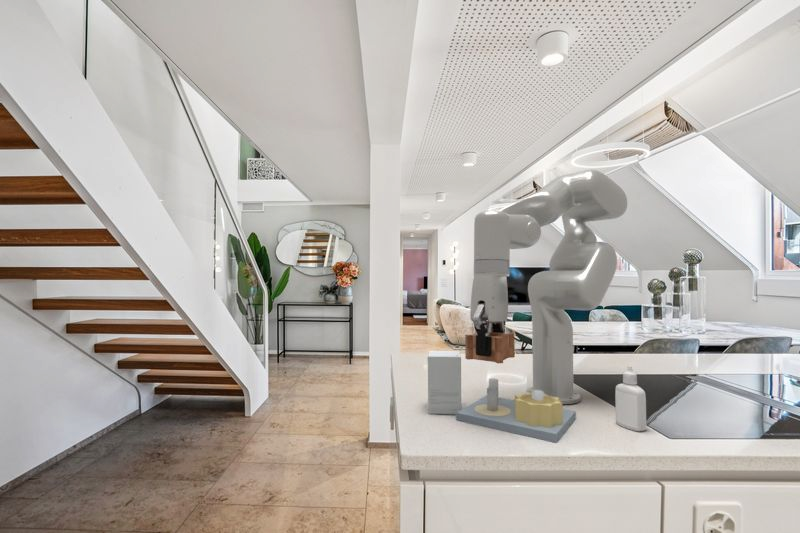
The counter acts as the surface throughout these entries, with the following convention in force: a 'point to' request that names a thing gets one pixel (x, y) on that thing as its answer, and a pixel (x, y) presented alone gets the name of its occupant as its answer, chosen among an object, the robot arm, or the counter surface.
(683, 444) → the counter surface
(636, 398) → the eye dropper bottle
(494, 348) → the brown open boxy piece
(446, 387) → the supplement box
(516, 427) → the gear board
